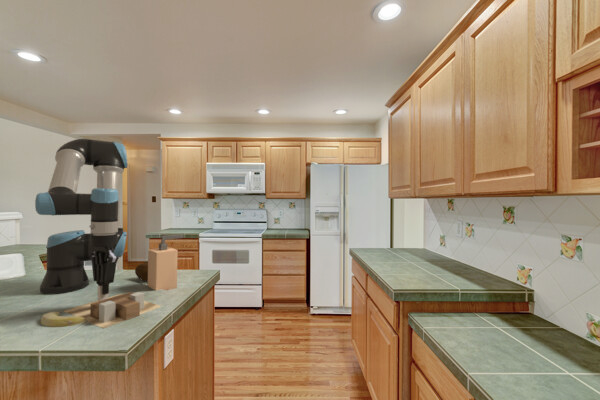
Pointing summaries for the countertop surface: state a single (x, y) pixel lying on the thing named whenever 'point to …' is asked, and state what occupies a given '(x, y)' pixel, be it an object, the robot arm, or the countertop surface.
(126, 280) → the countertop surface
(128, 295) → the tee
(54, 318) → the fruit
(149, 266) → the pump bottle
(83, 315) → the board
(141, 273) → the potato
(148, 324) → the countertop surface
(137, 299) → the posts
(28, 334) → the countertop surface
